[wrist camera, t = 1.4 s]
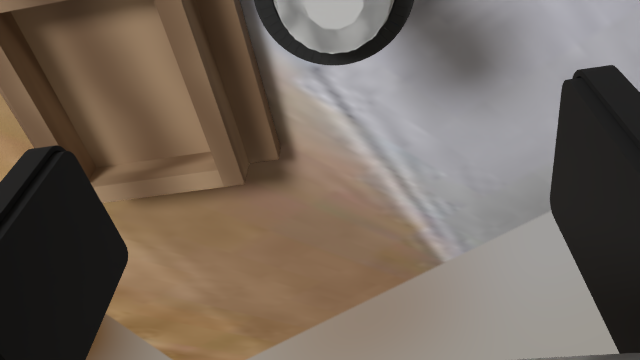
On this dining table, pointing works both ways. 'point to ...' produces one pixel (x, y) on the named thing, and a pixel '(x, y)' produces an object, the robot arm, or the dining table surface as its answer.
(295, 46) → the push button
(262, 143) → the brown wooden divided tray
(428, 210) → the dining table surface
